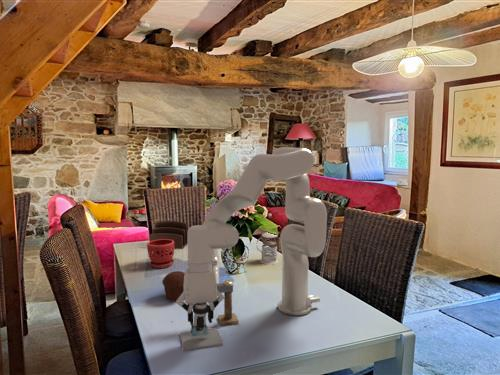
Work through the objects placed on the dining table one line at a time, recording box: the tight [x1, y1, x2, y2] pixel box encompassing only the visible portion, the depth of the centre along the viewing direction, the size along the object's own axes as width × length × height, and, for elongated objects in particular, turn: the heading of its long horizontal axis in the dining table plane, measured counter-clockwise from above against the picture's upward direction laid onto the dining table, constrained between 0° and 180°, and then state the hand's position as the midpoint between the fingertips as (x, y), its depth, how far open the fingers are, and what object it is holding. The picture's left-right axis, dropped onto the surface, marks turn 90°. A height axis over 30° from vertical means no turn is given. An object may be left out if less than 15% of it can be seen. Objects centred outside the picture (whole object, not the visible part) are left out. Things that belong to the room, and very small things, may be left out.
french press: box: [256, 213, 280, 265], centre depth 196 cm, size 10×12×25 cm
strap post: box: [217, 292, 240, 327], centre depth 133 cm, size 6×6×10 cm
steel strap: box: [217, 279, 234, 294], centre depth 130 cm, size 3×17×3 cm, turn 102°
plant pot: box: [146, 239, 175, 269], centre depth 190 cm, size 13×13×12 cm
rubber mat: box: [179, 327, 224, 352], centre depth 121 cm, size 12×10×1 cm
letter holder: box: [149, 220, 188, 250], centre depth 224 cm, size 10×20×14 cm, turn 82°
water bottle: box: [212, 249, 220, 284], centre depth 163 cm, size 7×7×25 cm
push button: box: [190, 302, 212, 336], centre depth 120 cm, size 7×5×10 cm
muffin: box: [162, 270, 185, 302], centre depth 152 cm, size 12×11×10 cm
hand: (200, 321), depth 120 cm, fingers closed on push button, 5 cm apart
